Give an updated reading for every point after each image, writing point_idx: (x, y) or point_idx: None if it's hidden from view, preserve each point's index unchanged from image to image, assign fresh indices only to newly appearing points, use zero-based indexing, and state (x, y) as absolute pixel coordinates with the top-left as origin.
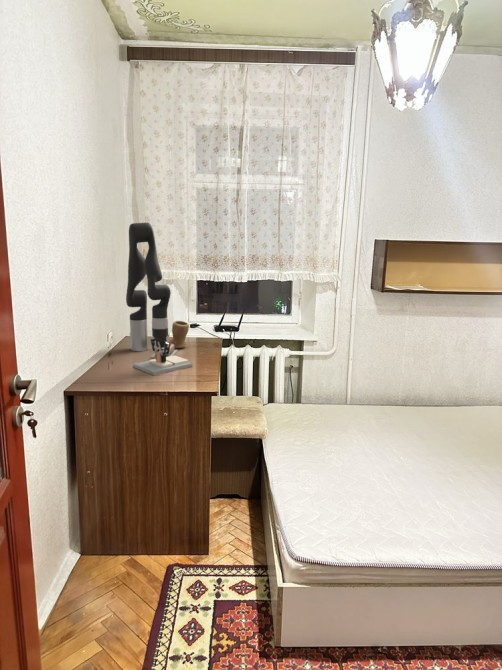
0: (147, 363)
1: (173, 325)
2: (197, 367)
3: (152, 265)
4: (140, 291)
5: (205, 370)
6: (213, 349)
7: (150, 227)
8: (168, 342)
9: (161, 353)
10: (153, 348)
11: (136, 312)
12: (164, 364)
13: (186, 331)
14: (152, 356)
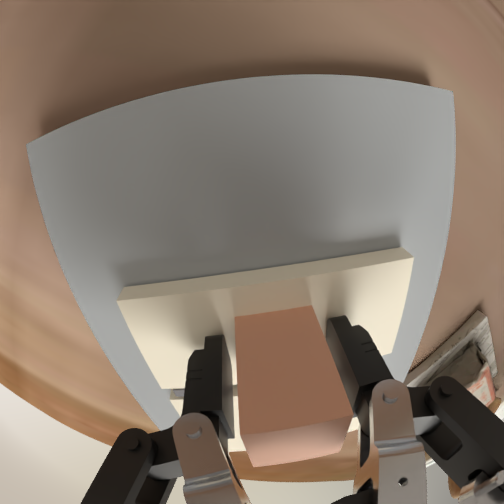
0: (384, 213)
1: None
2: (142, 428)
3: None
4: None
5: (84, 420)
6: (348, 477)
7: None
8: (495, 398)
9: (204, 437)
10: (449, 412)
11: None
12: (147, 328)
13: (449, 481)
14: (479, 322)
